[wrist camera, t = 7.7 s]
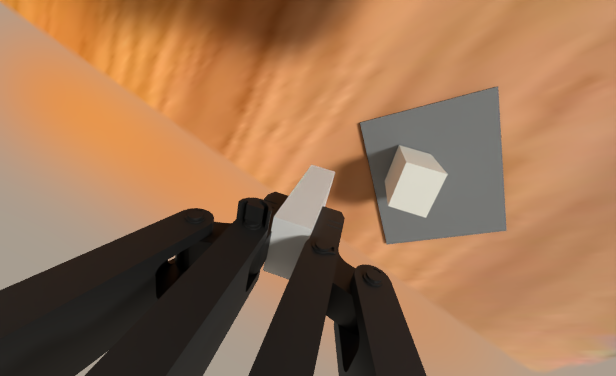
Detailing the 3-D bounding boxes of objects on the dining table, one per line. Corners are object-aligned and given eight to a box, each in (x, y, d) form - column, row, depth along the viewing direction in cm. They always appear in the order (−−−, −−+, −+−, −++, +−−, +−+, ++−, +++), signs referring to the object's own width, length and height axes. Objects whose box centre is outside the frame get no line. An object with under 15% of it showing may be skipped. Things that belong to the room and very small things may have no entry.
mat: (360, 122, 33) (359, 122, 33) (496, 86, 29) (498, 86, 28) (386, 242, 38) (386, 244, 38) (504, 229, 34) (506, 230, 34)
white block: (384, 180, 35) (387, 205, 27) (398, 144, 33) (406, 162, 25) (414, 189, 34) (425, 217, 27) (430, 153, 32) (447, 174, 25)
